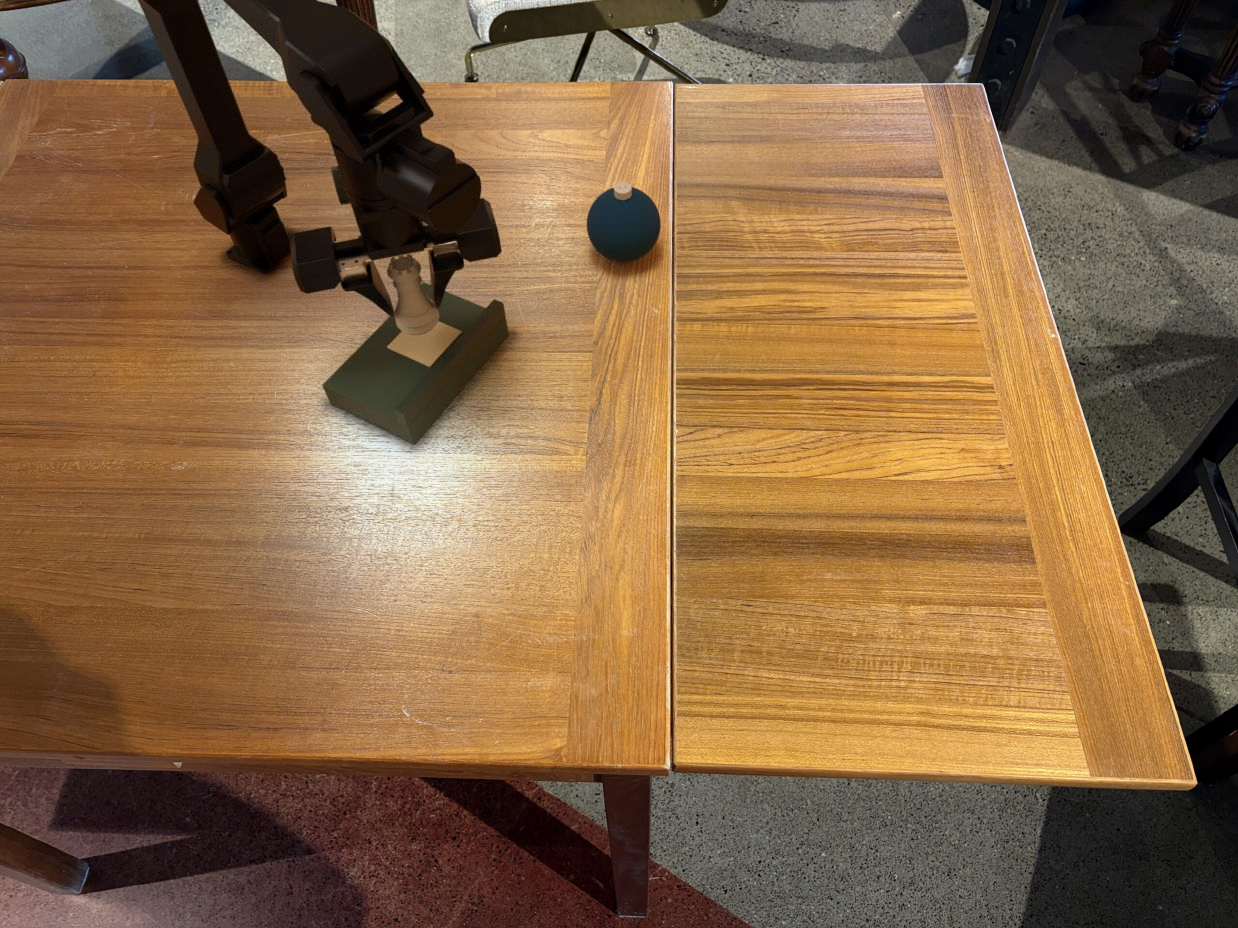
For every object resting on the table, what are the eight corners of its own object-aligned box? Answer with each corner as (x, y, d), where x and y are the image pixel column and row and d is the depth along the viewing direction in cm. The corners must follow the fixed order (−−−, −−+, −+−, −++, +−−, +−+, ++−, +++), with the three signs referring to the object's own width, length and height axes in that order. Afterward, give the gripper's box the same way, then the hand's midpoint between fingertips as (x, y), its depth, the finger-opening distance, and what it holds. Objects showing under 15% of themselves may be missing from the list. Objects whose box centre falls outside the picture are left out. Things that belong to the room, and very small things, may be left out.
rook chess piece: (397, 307, 93) (379, 247, 86) (440, 304, 93) (426, 244, 86) (395, 339, 90) (376, 280, 83) (439, 336, 90) (424, 277, 84)
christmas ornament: (642, 221, 108) (642, 150, 100) (671, 265, 104) (674, 194, 95) (577, 241, 106) (572, 170, 98) (605, 286, 102) (601, 216, 94)
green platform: (330, 403, 93) (315, 372, 89) (428, 301, 101) (419, 268, 97) (414, 445, 89) (403, 414, 85) (509, 335, 98) (503, 302, 94)
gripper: (469, 108, 83) (492, 239, 96) (264, 144, 80) (315, 273, 93) (491, 182, 77) (512, 311, 89) (269, 223, 74) (324, 350, 87)
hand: (415, 309), depth 90 cm, fingers closed on rook chess piece, 4 cm apart
